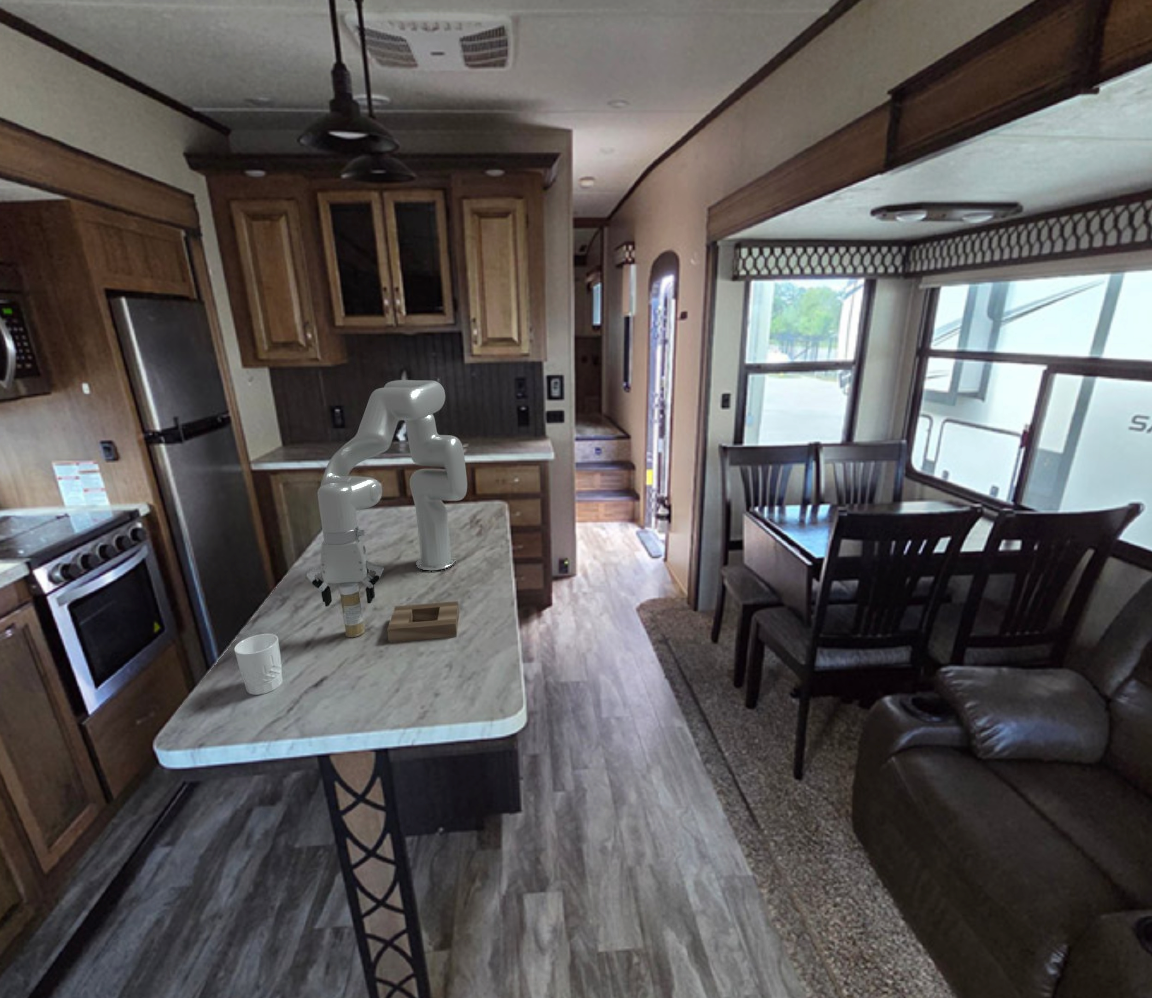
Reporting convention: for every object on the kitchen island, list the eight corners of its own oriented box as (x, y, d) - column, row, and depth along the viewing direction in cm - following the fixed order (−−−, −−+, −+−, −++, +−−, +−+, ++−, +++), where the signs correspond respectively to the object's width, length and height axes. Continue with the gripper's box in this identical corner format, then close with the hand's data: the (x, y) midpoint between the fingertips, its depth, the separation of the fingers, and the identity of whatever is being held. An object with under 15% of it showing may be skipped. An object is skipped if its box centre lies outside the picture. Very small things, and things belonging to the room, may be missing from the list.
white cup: (238, 700, 110) (228, 656, 107) (249, 677, 117) (240, 636, 114) (281, 693, 112) (272, 650, 109) (289, 671, 119) (282, 631, 116)
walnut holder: (396, 618, 141) (395, 606, 140) (459, 613, 144) (458, 601, 143) (388, 642, 130) (387, 629, 129) (456, 636, 132) (455, 623, 131)
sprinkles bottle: (348, 629, 136) (341, 580, 132) (367, 628, 137) (360, 579, 133) (343, 638, 132) (335, 588, 128) (362, 637, 132) (355, 587, 129)
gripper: (382, 528, 132) (389, 593, 136) (307, 533, 129) (316, 598, 134) (376, 538, 125) (383, 606, 129) (296, 543, 122) (307, 612, 127)
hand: (349, 602), depth 131 cm, fingers open, 9 cm apart
